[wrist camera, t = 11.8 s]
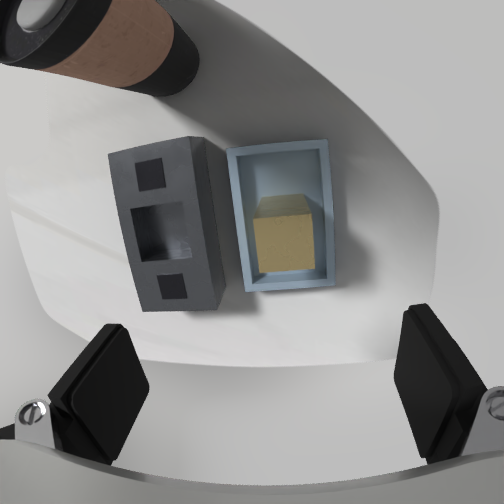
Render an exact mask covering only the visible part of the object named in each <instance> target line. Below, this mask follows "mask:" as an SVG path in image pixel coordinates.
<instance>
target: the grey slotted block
mask: <svg viewBox="0 0 504 504" xmlns="http://www.w3.org/2000/svg"><path fill="white" fill-rule="evenodd" d="M108 159H109V165H110V172H111V178H112V184H113V189H114V195H115V200H116V206H117V211H118V216H119V220H120V225H121V230H122V234H123V239H124V243H125V247H126V252H127V256H128V260H129V264H130V268H131V272H132V275H133V279H134V283H135V287H136V290H137V294H138V297H139V301H140V304H141V308H142V311H143V312H157V311H201V310H217V309H218V306H219V304H220V301H221V298H222V296H223V293H224V291H225V288H226V285H225V279H224V273H223V266H222V260H221V254H220V248H219V241H218V235H217V228H216V222H215V215H214V208H213V201H212V194H211V187H210V180H209V173H208V166H207V159H206V151H205V143H204V137H195V136H187V137H182V138H176V139H171V140H166V141H161V142H157V143H152V144H147V145H143V146H138V147H134V148H130V149H126V150H122V151H118V152H114V153H110V154H108Z"/></svg>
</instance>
